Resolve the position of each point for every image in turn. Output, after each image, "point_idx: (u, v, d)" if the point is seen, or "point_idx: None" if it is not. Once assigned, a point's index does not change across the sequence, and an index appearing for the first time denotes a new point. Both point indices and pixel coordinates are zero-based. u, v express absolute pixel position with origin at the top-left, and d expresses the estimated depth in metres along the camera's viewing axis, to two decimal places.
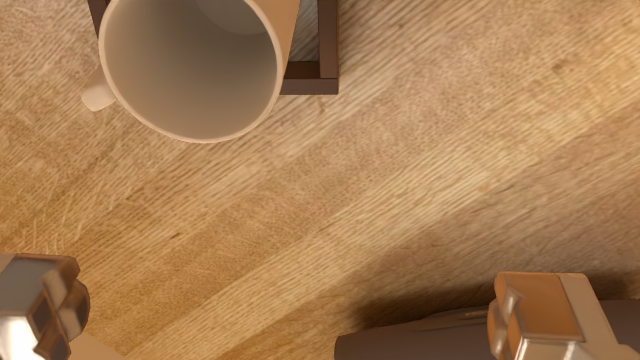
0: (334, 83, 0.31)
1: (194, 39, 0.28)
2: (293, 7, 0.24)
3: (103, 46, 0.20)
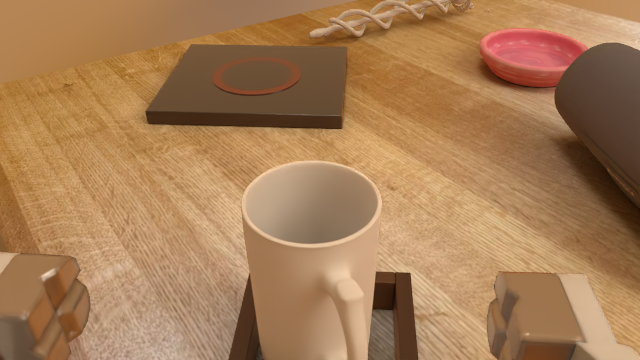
0: (399, 274, 0.36)
1: None
2: None
3: (289, 242, 0.24)
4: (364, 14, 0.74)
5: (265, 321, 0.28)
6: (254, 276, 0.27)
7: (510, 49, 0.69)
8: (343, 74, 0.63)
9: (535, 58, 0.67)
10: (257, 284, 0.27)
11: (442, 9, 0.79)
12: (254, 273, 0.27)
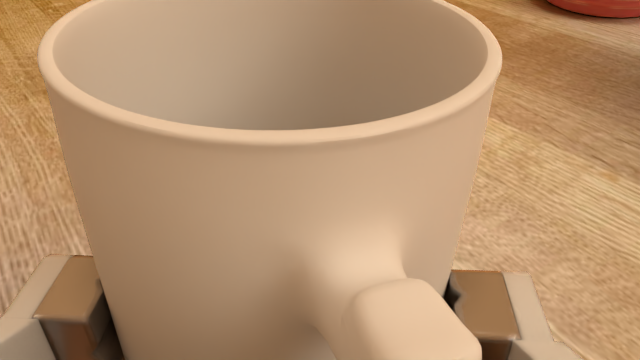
0: None
1: None
2: None
3: (172, 124, 0.06)
4: None
5: None
6: (96, 264, 0.09)
7: None
8: None
9: None
10: (105, 289, 0.09)
11: None
12: (93, 255, 0.09)
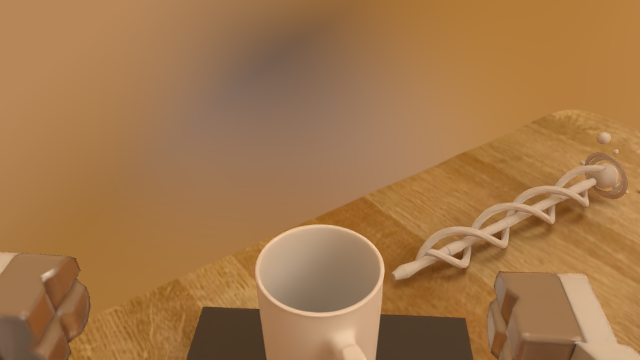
0: None
1: None
2: None
3: (300, 311, 0.26)
4: (478, 236, 0.46)
5: None
6: (266, 335, 0.29)
7: None
8: None
9: None
10: (269, 342, 0.29)
11: (586, 206, 0.52)
12: (266, 332, 0.29)
